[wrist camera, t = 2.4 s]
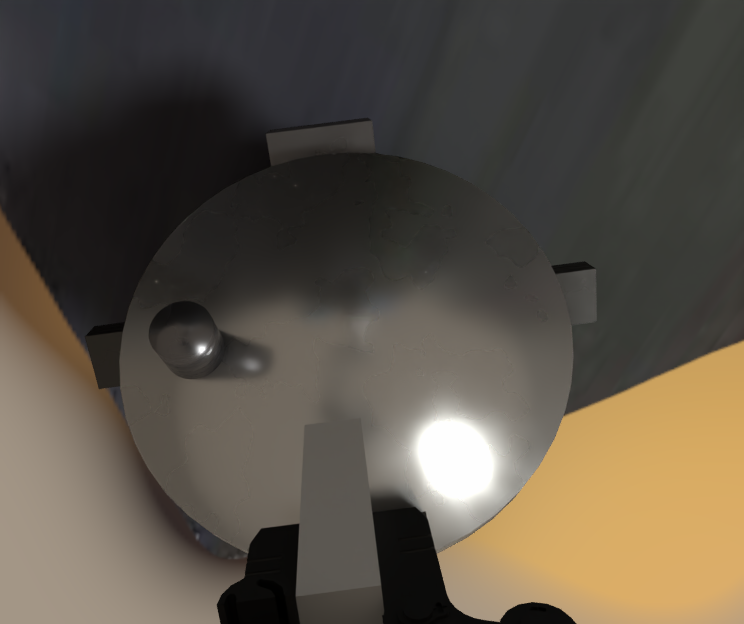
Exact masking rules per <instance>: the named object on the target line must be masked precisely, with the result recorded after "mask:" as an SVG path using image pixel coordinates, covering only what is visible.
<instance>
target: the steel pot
mask: <svg viewBox="0 0 744 624" xmlns="http://www.w3.org/2000/svg"><path fill="white" fill-rule="evenodd" d="M266 137H267V143H268V150H269V156H270V162H271V166H274V165H278V164H281V163H285V162H288V161H292V160H295V159H300V158H305V157H311V156H316V155H322V154H335V153H375V144H374V135H373V126H372V120H370V119H369V118H362V119H354V120H346V121H338V122H330V123H322V124H314V125H306V126H298V127H290V128H282V129H274V130H270V131H269V132H267V133H266ZM375 154H378V153H375ZM551 267H552V269H553V270H554V272H555V274H556V276H557V279H558V281H559V284H560V287H561V290H562V292H563V295H564V298H565V300H566V304H567V309H568V314H569V318H570V323H571V325H576V324H584V323H591V322H597V318H596V269H595V268H594V267H592V266H591V265H589V264H588V263H586V262H577V263H570V264H562V265H554V266H551ZM124 325H125V322H123V323H116V324H108V325H101V326H94V327H93V328H92V330H91V331H90V332H89V333H88V334H87V335H86V336H85V339H86V342H87V346H88V350H89V354H90V357H91V361H92V365H93V369H94V372H95V376H96V380H97V383H98V387H99V389H102V388H109V387H117V386H120V364H119V360H120V351H121V341H122V333H123V329H124Z"/></svg>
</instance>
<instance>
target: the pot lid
mask: <svg viewBox="0 0 744 624" xmlns="http://www.w3.org/2000/svg"><path fill="white" fill-rule="evenodd" d="M119 364H120V389H121V394H122V400H123V405H124V411H125V416H126V419H127V422H128V425H129V428H130V431H131V433H132V436H133V439H134V442H135V444H136V446H137V448H138V450H139V452H140V454H141V456H142V458H143V460H144V462H145V464H146V465H147V467H148V469H149V471H150V472H151V473H152V475H153V476H154V477H155V479H156V480H157V482H158V483H159V484H160V486H161V487H162V488H163V490H164V491H165V492H166V494H167V495H168V496H169V497H170V498H171V499H172V500H173V501H174V502H175V503H176V504H177V505H178V506H179V507H180V508H181V509H182V510H183V511H184V512H185V513H186V514H187V515H188V516H190V517H191V518H192V519H194V520H195V521H196V522H198V523H199V524H200V525H202V526H203V527H204V528H206V529H207V530H208V531H210V532H211V533H213V534H214V535H215V536H217V537H219V538H220V539H222V540H224V541H226V542H227V543H229V544H231V545H233V546H235V547H237V548H239V549H240V550H242V551H244V552H246V553H248V552H249V545H250V543H251V541H252V540H253V539H254V537H255V536H256V535H257V533H258V532H259V531H260V529H261V528H268V527H276V526H283V525H291V524H299V522H300V503H301V484H302V465H303V445H304V426H305V425H308V424H316V423H324V422H332V421H340V420H348V419H356V418H361V424H362V433H363V441H364V449H365V457H366V465H367V474H368V482H369V490H370V498H371V506H372V512H379V511H387V510H394V509H402V508H410V507H416V508H417V509H418V510H419V511H420V512H421V513H422V514H423V515H424V516H425V517H426V518H427V519H428V522H429V526H430V530H431V534H432V538H433V542H434V546H435V550H436V554H437V553H439V552H441V551H443V550H445V549H447V548H448V547H451V546H452V545H454V544H456V543H458V542H460V541H462V540H463V539H465V538H467V537H469V536H470V535H471V534H473V533H474V532H475V531H477V530H478V529H480V528H481V527H482V526H484V525H485V524H486V523H488V522H489V521H491V520H492V519H493V518H494V517H495V516H496V515H497V514H498V513H499V512H500V511H501V510H502V509H503V508H504V507H505V506H506V505H508V504H509V503H510V502H511V501H512V500H513V499H514V498H515V497H516V495H517V494H518V493H519V491H520V490H521V489H522V487H523V486H524V485H525V484H526V482H527V481H528V479H529V478H530V477H531V476H532V475H533V473H534V472H535V470H536V469H537V468H538V467H539V465H540V463H541V462H542V460H543V458H544V456H545V454H546V452H547V451H548V449H549V447H550V446H551V444H552V442H553V440H554V438H555V436H556V433H557V431H558V428H559V425H560V423H561V420H562V418H563V415H564V413H565V409H566V405H567V400H568V396H569V391H570V387H571V381H572V367H573V342H572V328H571V323H570V318H569V314H568V309H567V304H566V300H565V298H564V295H563V292H562V290H561V287H560V284H559V281H558V279H557V276H556V274H555V272H554V270H553V269H552V267H551V265H550V263H549V261H548V259H547V257H546V255H545V254H544V252H543V251H542V249H541V248H540V247H539V245H538V244H537V242H536V241H535V240H534V238H533V237H532V235H531V234H530V233H529V231H528V230H527V229H526V228H525V227H524V226H523V225H522V224H521V223H520V222H519V221H518V220H517V219H516V217H515V216H514V215H513V214H512V213H511V212H509V211H508V210H507V209H506V208H505V207H503V206H502V205H501V204H500V203H499V202H497V201H496V200H495V199H494V198H493V197H491V196H490V195H488V194H487V193H485V192H484V191H482V190H481V189H479V188H478V187H476V186H474V185H473V184H471V183H470V182H468V181H466V180H464V179H462V178H460V177H458V176H456V175H454V174H452V173H450V172H447V171H445V170H442V169H439V168H437V167H434V166H431V165H428V164H426V163H422V162H418V161H414V160H410V159H406V158H402V157H397V156H390V155H383V154H375V153H335V154H322V155H316V156H311V157H305V158H300V159H295V160H292V161H288V162H285V163H281V164H278V165H274V166H271V167H269V168H266V169H264V170H261V171H259V172H257V173H254V174H252V175H249V176H247V177H245V178H243V179H241V180H240V181H238V182H236V183H234V184H232V185H230V186H228V187H227V188H225V189H223V190H222V191H220V192H219V193H218V194H216V195H215V196H213V197H212V198H210V199H209V200H207V201H206V202H204V203H203V204H202V205H201V206H200V207H199V208H197V209H196V210H195V211H194V212H193V213H192V214H190V215H189V216H188V217H187V218H186V219H185V220H184V221H183V222H182V223H181V224H180V225H179V226H178V227H177V228H176V229H175V230H174V231H173V233H172V234H171V235H170V236H169V237H168V238H167V239H166V240H165V242H164V243H163V245H162V246H161V247H160V249H159V250H158V251H157V253H156V254H155V256H154V257H153V258H152V260H151V261H150V263H149V265H148V267H147V269H146V271H145V272H144V274H143V276H142V278H141V280H140V281H139V283H138V286H137V288H136V291H135V293H134V296H133V298H132V301H131V303H130V306H129V309H128V313H127V317H126V321H125V325H124V329H123V333H122V341H121V351H120V360H119Z"/></svg>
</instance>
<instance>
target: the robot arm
mask: <svg viewBox="0 0 744 624" xmlns="http://www.w3.org/2000/svg"><path fill="white" fill-rule="evenodd" d="M217 609H218V613H219V618H220V623H221V624H576V623H575V622H574V621H573V619H572V618H571V617H569V616H568V615H567V614H566V613H565V612H563V611H562V610H561V609H559V608H556V607H554V606H551V605H549V604H543V603H535V602H531V603H525V604H519V605H517V606H515V607H513V608H511V609H510V610H508V611H507V612H506V613H505V615H504V616H503V617H502V618H501V621H500V622H494V621H486V620H481V619H476V618H473V617H470V616H468V615H465V614H463V613H462V612H461V611H459V610H457V609H456V608H455V607H454V606H453V604H452V603H451V602H450V601H449V598H448V596H447V593H446V590H445V585H444V581H443V577H442V573H441V570H440V565H439V561H438V558H437V554H436V550H435V546H434V542H433V538H432V534H431V530H430V526H429V522H428V519H427V518H426V517H425V516H424V515H423V514H422V513H421V512H420V511H419V510H418V509H417V508H416V507H410V508H402V509H394V510H387V511H379V512H372V506H371V498H370V490H369V482H368V474H367V465H366V457H365V449H364V441H363V433H362V424H361V418H356V419H348V420H340V421H332V422H324V423H316V424H308V425H305V426H304V445H303V465H302V484H301V503H300V522H299V524H291V525H283V526H276V527H268V528H261V529H260V531H259V532H258V533H257V535H256V536H255V537H254V539H253V540H252V541H251V543H250V545H249V552H248V558H247V564H246V571H245V577H244V579H242V580H240V581H239V582H237V583H235V584H233V585H231V586H230V587H229V588H228V589H227V590H226V591H225V592H224V593H223V594H222V595H221V597H220V599H219V601H218V603H217Z"/></svg>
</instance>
